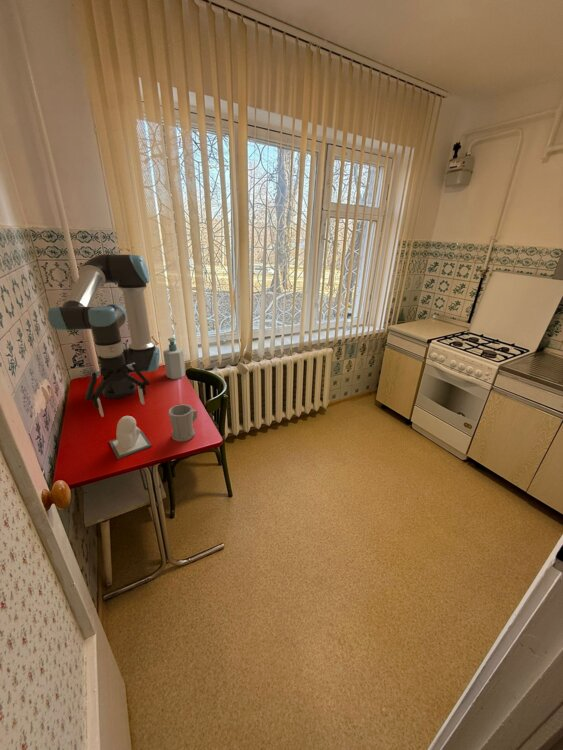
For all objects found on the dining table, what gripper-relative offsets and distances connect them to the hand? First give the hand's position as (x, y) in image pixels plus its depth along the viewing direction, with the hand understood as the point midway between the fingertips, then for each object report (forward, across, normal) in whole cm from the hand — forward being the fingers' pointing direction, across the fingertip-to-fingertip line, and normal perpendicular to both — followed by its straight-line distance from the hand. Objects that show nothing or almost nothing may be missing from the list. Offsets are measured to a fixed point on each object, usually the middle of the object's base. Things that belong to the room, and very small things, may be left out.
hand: (123, 408), depth 109 cm
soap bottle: (+17, +38, +48) cm, 64 cm away
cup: (+16, +19, -6) cm, 26 cm away
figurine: (+15, 0, 0) cm, 15 cm away
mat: (+16, 0, 0) cm, 16 cm away
